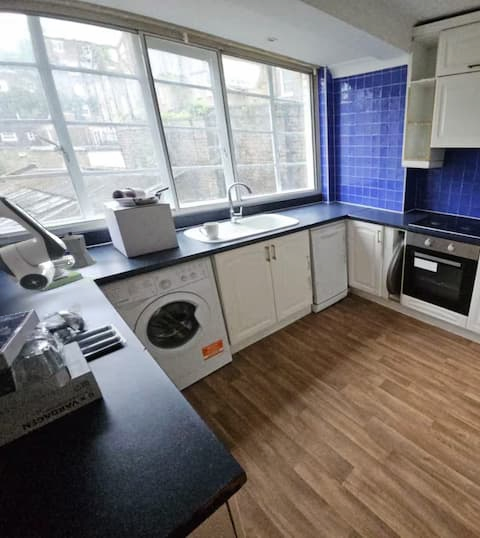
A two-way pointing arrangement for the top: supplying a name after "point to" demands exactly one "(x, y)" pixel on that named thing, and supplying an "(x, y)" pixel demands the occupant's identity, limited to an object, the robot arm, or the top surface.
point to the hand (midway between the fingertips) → (44, 261)
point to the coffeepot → (77, 250)
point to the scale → (63, 279)
